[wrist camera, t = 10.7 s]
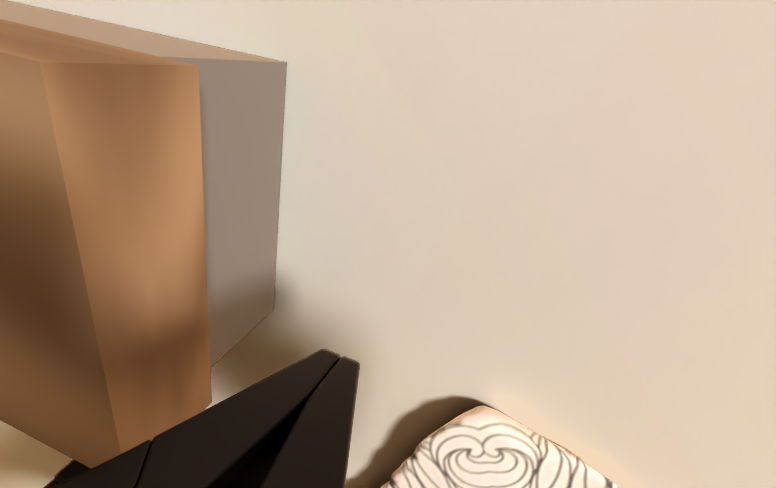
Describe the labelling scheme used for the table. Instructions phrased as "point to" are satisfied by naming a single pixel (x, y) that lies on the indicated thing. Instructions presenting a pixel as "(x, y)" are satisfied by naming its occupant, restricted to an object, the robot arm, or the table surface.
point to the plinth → (217, 162)
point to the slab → (99, 244)
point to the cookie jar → (492, 458)
